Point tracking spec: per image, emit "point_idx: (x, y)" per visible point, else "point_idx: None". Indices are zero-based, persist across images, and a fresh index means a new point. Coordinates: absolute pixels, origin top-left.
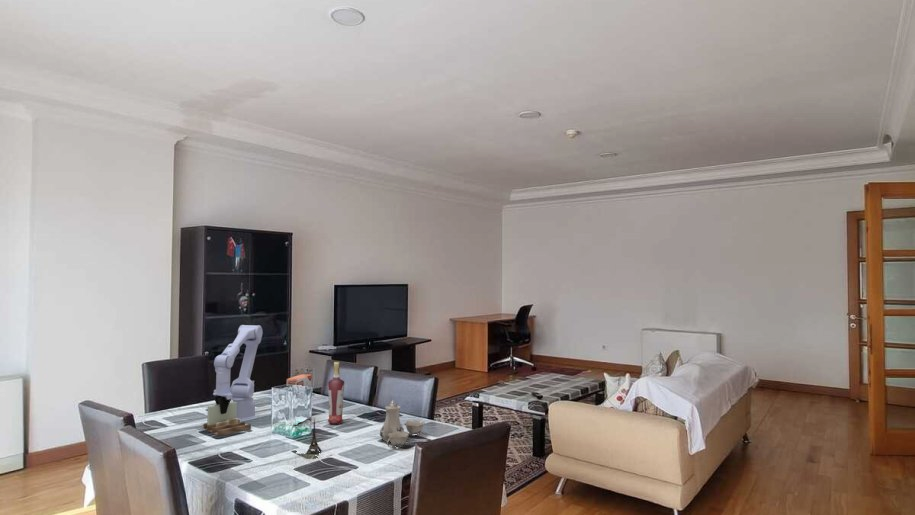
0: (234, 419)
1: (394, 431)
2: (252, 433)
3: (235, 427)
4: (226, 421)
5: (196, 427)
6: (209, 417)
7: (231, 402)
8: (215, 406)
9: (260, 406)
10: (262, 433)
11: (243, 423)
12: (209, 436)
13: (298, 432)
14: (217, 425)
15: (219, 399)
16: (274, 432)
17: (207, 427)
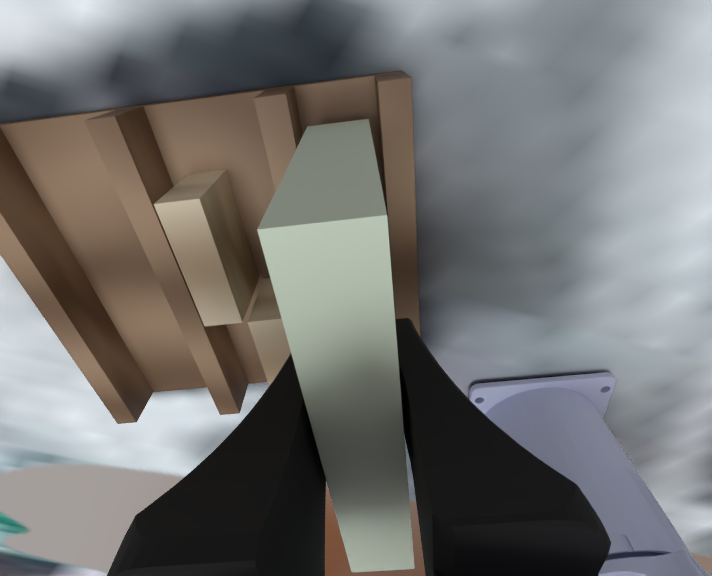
0: (267, 378)
1: None
2: (53, 374)
3: (48, 319)
4: (212, 306)
5: (566, 25)
6: (294, 156)
7: (400, 543)
8: (294, 344)
9: (692, 540)
10: (33, 414)
11: (216, 397)
12: (52, 46)
13: (5, 523)
14: (165, 195)
15: (129, 558)
16: (39, 459)
17: (270, 92)
